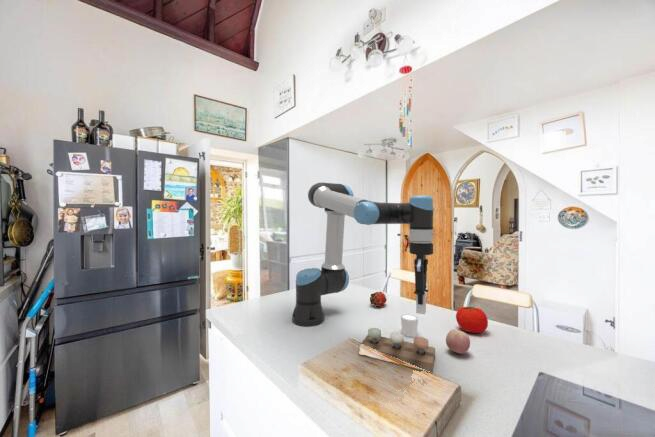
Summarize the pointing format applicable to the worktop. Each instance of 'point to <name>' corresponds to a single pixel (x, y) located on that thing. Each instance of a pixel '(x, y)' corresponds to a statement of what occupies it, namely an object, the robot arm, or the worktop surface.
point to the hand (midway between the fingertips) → (421, 312)
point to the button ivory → (397, 339)
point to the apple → (458, 341)
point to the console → (404, 352)
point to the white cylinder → (409, 325)
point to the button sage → (374, 334)
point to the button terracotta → (421, 344)
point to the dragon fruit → (378, 299)
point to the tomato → (472, 319)
